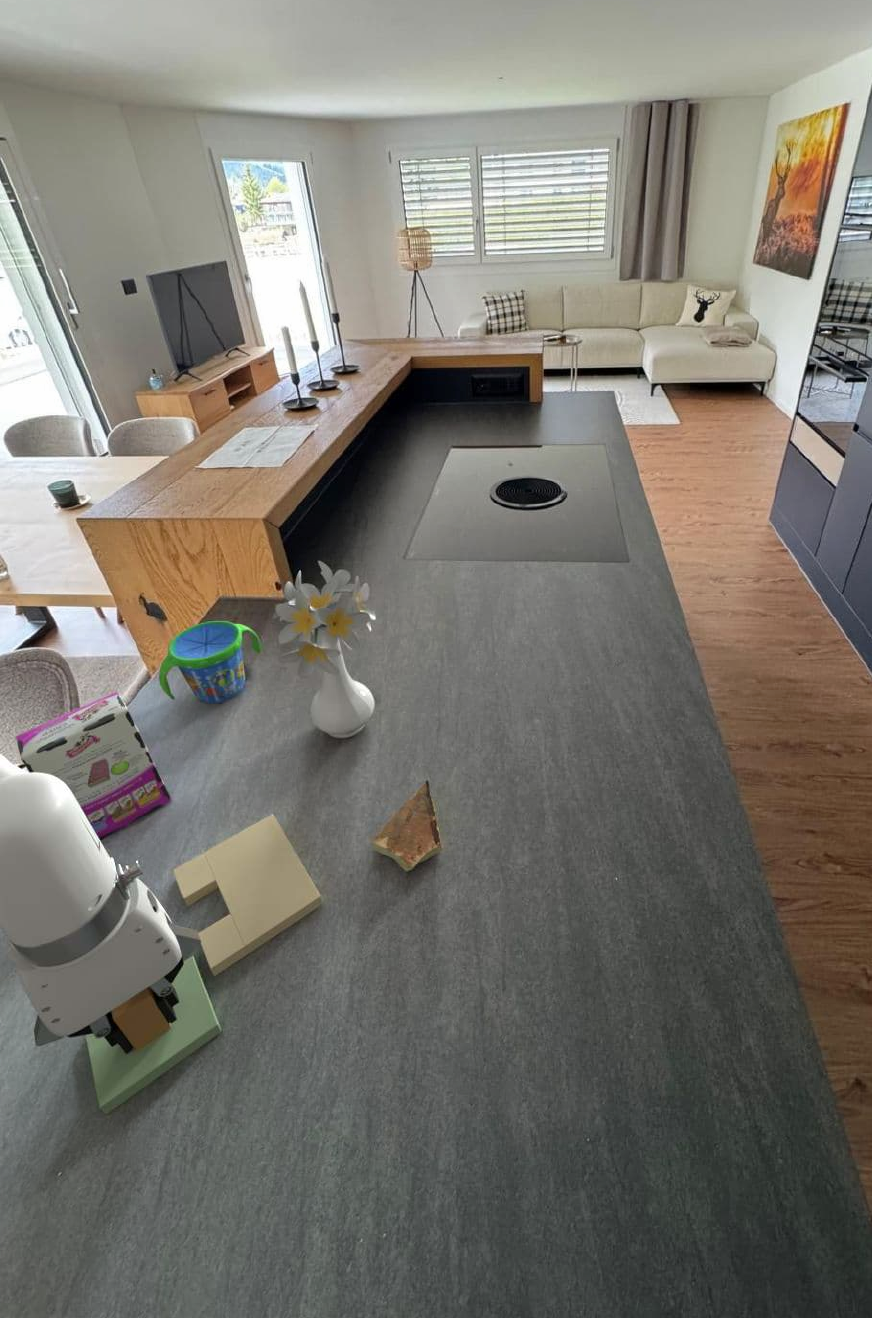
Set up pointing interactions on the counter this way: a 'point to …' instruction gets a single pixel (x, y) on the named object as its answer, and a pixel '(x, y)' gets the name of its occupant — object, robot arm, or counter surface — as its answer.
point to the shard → (411, 832)
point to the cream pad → (249, 890)
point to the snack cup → (209, 660)
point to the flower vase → (329, 647)
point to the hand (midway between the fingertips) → (148, 1021)
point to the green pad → (159, 1052)
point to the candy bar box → (98, 763)
